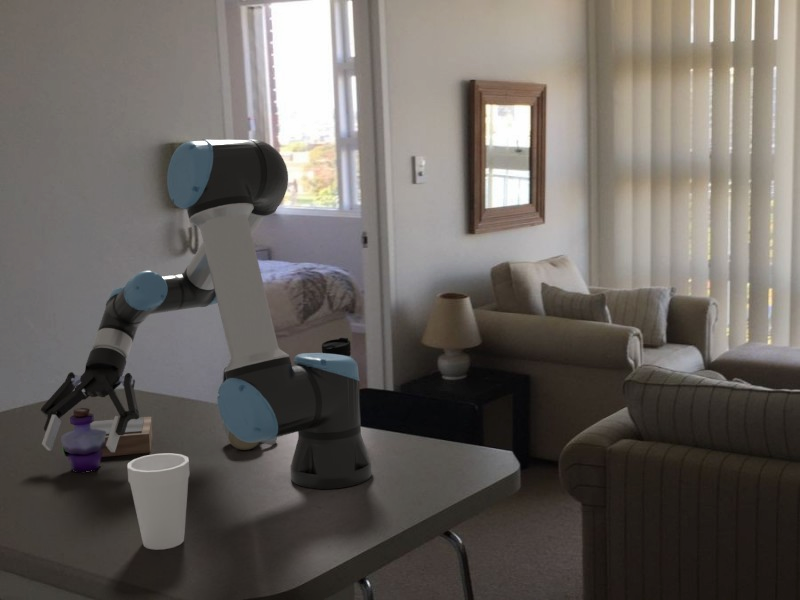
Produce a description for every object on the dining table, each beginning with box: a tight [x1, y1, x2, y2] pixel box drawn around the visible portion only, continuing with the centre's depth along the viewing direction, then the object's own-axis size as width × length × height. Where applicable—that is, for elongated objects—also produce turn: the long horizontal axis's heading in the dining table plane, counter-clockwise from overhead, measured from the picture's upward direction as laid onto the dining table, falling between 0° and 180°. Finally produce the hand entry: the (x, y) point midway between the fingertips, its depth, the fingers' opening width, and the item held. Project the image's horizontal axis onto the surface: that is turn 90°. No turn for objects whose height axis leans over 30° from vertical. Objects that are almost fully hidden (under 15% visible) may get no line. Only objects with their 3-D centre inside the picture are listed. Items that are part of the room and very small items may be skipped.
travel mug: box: [321, 337, 352, 358], centre depth 215 cm, size 6×7×20 cm
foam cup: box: [127, 452, 191, 551], centre depth 157 cm, size 10×9×13 cm
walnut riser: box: [90, 416, 154, 458], centre depth 210 cm, size 14×14×4 cm
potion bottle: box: [60, 407, 106, 474], centre depth 195 cm, size 9×9×12 cm
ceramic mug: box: [222, 421, 278, 451], centre depth 208 cm, size 11×8×8 cm
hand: (78, 448), depth 193 cm, fingers open, 13 cm apart
